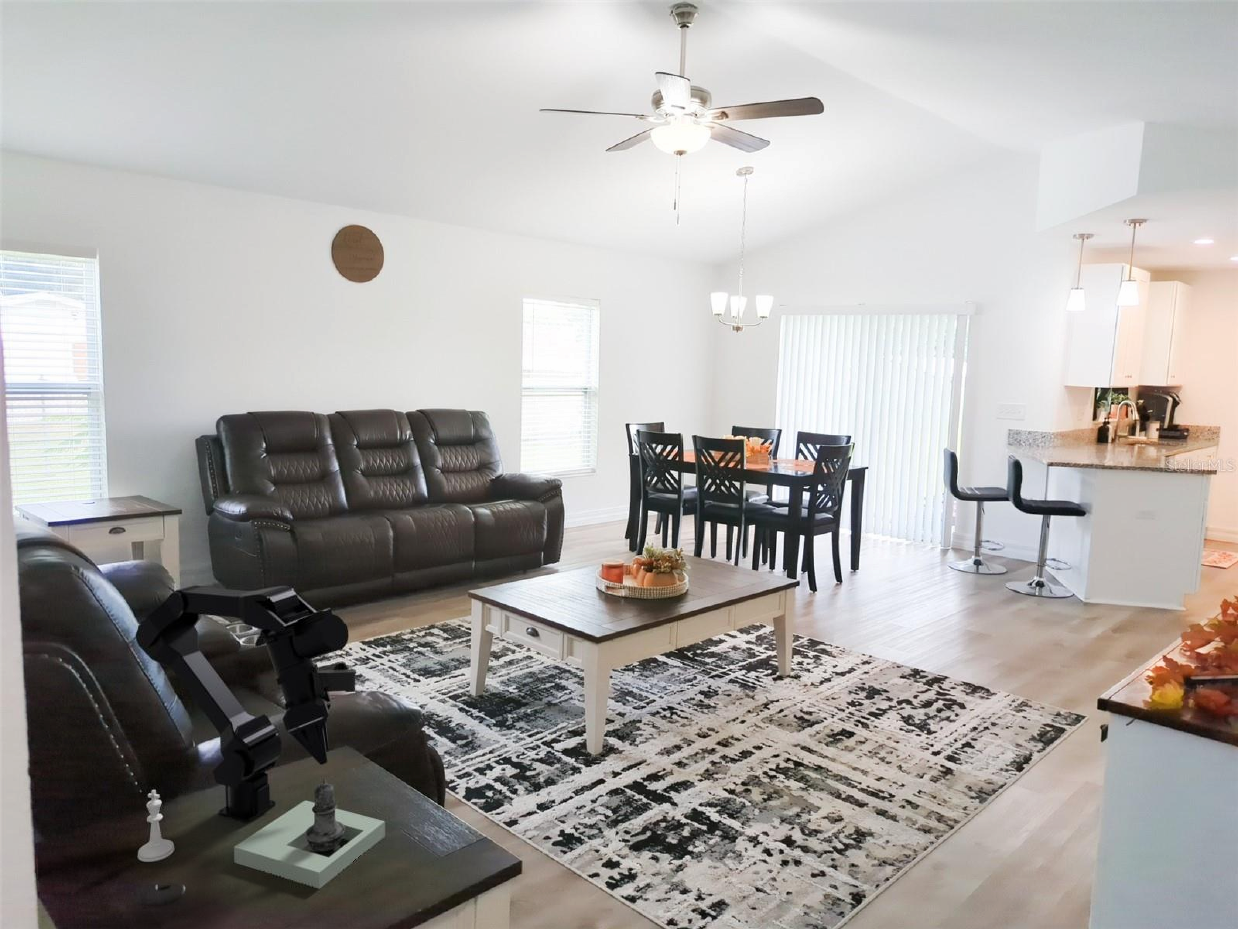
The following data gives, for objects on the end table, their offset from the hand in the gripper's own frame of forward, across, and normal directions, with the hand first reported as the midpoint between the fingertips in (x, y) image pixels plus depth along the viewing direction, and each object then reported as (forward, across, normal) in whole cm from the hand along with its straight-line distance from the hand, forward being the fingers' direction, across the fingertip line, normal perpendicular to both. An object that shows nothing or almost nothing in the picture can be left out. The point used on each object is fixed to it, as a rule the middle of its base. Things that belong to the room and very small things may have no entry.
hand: (325, 757), depth 135 cm
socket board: (+12, -1, +6) cm, 13 cm away
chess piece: (+4, +4, +27) cm, 28 cm away
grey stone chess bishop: (+13, -3, +4) cm, 14 cm away
